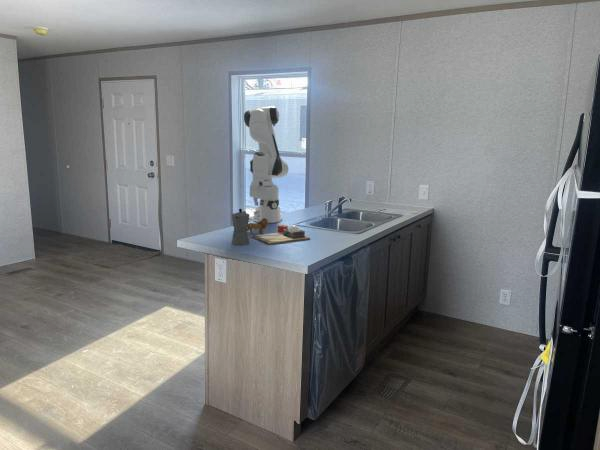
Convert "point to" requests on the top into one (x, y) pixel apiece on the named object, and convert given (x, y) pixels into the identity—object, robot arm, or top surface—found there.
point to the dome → (293, 228)
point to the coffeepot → (240, 228)
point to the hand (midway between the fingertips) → (260, 206)
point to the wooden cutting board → (281, 237)
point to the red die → (282, 228)
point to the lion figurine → (258, 226)
